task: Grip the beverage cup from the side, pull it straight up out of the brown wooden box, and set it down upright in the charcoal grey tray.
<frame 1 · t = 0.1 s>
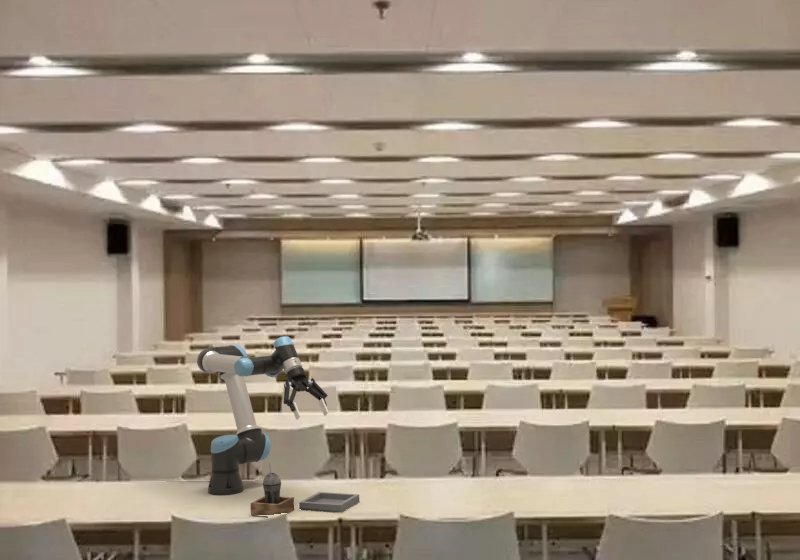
hand: (312, 415, 394), 36 cm above the table, tool tilted 35°, fingers open, 13 cm apart
beverage cup: (272, 513, 382), resting in brown wooden box
tray: (329, 505, 391), on the table
brown wooden box: (272, 512, 382), on the table
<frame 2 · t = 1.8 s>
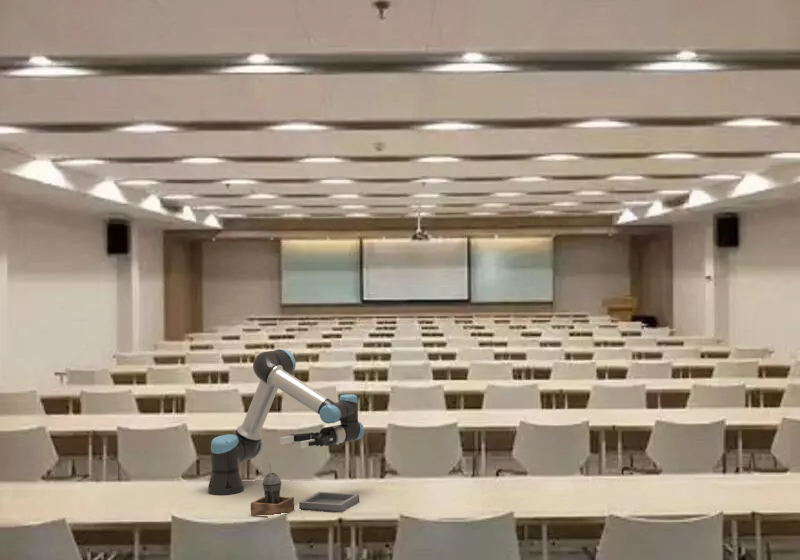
hand: (290, 443, 389), 26 cm above the table, tool horizontal, fingers open, 13 cm apart
nothing on the table moved.
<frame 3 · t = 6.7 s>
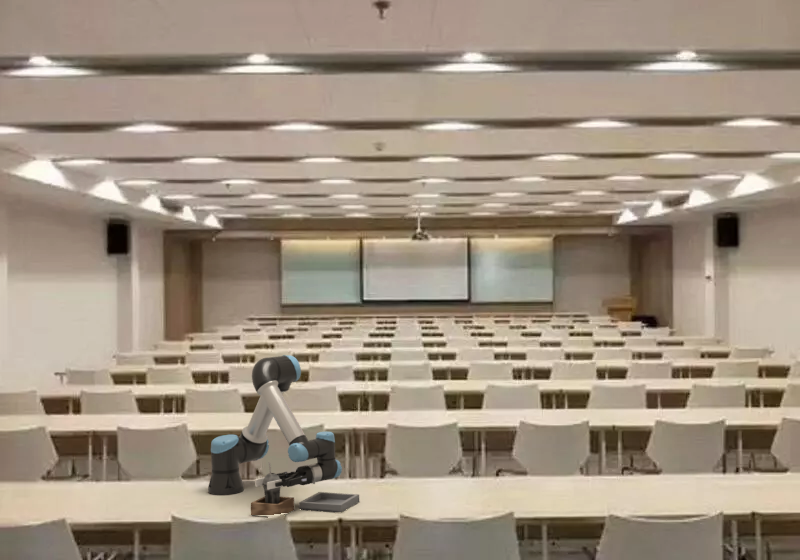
hand: (261, 484, 379), 12 cm above the table, tool horizontal, fingers closed on beverage cup, 7 cm apart
beverage cup: (272, 513, 382), resting in brown wooden box, touching gripper
when the fingers open (14 cm above the table, at t = 14.1 s): beverage cup drops 1 cm, resting on tray.
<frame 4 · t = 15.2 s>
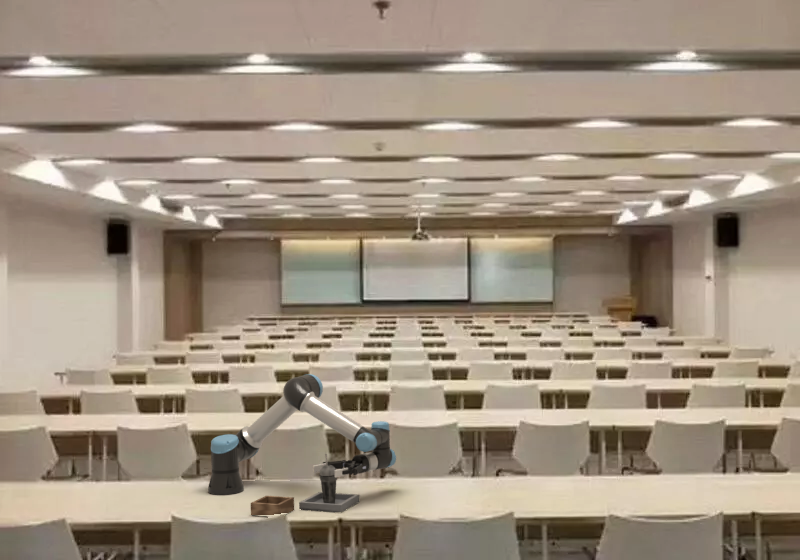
hand: (324, 471, 389), 14 cm above the table, tool horizontal, fingers open, 13 cm apart
beverage cup: (329, 504, 391), point 1 cm above the table, touching tray
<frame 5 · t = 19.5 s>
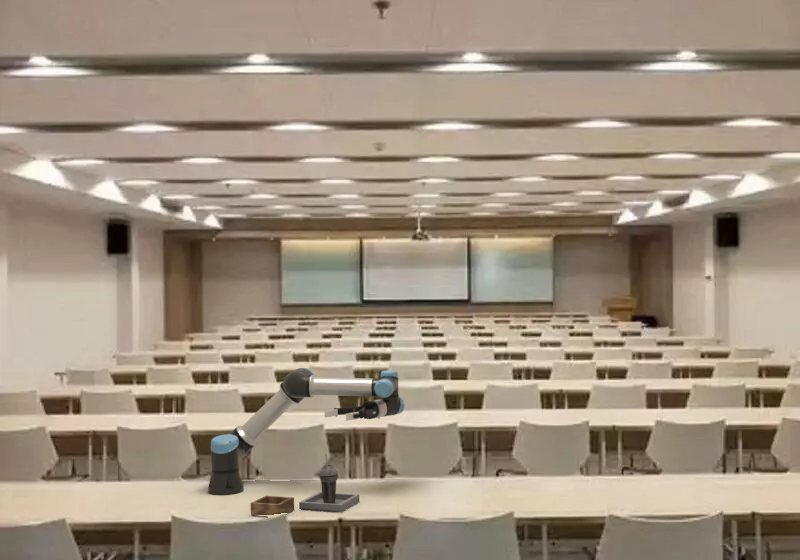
hand: (335, 415, 404), 34 cm above the table, tool horizontal, fingers open, 13 cm apart
nothing on the table moved.
at the end: beverage cup inside the target area on the tray (0.2 cm from its centre), point 0.6 cm above the tray's base; beverage cup tilted 0°; the gripper is holding nothing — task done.
